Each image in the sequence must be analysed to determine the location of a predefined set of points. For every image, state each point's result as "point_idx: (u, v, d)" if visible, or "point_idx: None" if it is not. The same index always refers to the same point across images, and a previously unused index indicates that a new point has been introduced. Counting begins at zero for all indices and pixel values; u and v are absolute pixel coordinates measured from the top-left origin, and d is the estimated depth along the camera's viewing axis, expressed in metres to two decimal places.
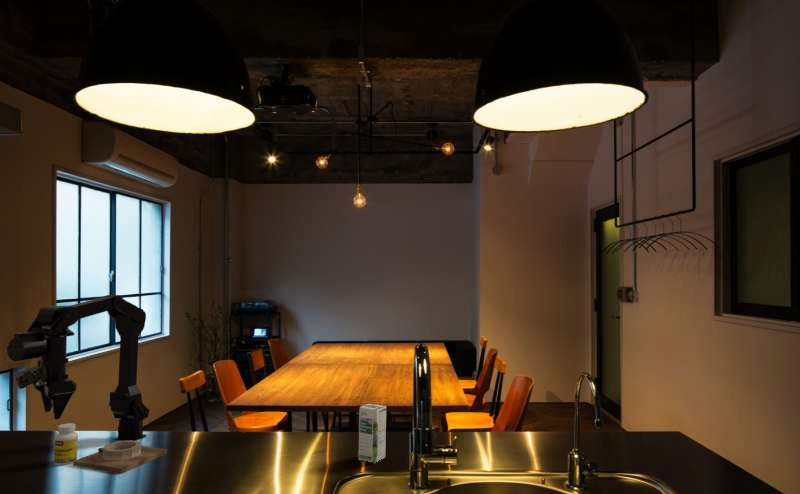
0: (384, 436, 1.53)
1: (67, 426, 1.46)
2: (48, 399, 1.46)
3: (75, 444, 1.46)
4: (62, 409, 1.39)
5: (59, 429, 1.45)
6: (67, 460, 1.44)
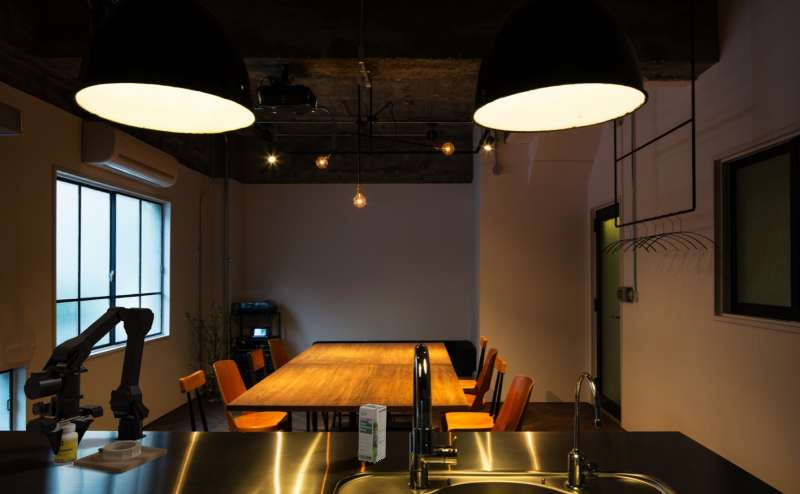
0: (384, 436, 1.53)
1: (67, 426, 1.46)
2: None
3: (75, 444, 1.46)
4: (55, 446, 1.42)
5: None
6: (67, 460, 1.44)
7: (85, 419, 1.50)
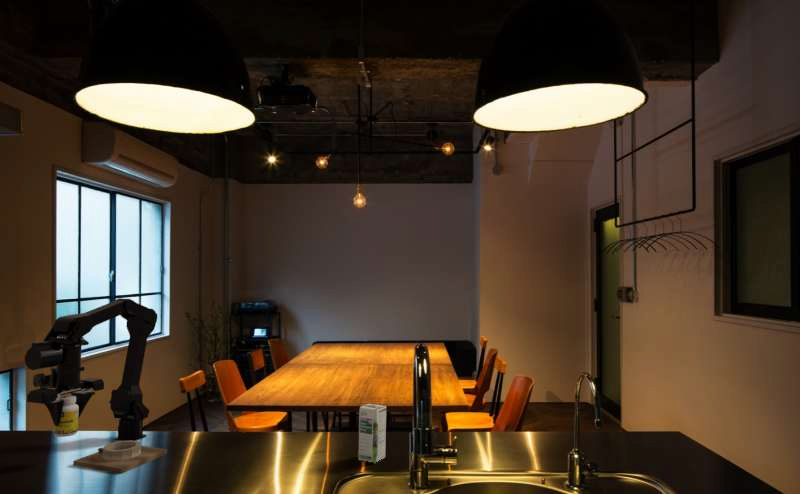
0: (384, 436, 1.53)
1: (68, 397, 1.46)
2: None
3: (76, 416, 1.46)
4: (56, 417, 1.43)
5: None
6: (68, 431, 1.44)
7: (86, 392, 1.50)
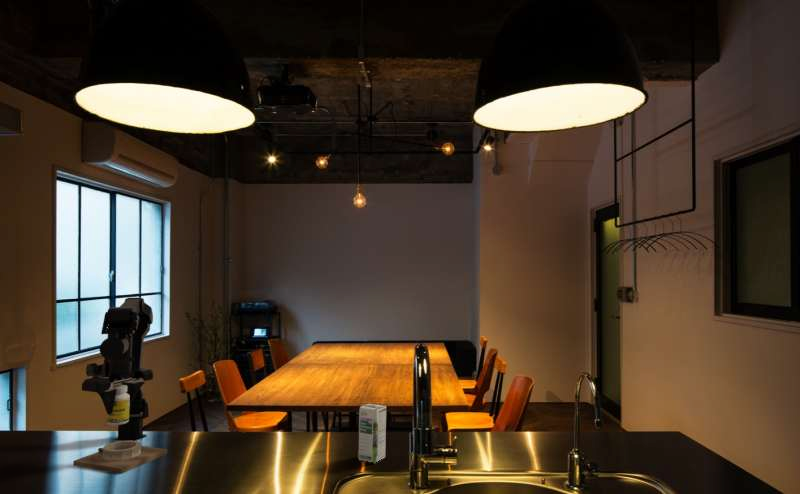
0: (384, 436, 1.53)
1: (120, 387, 1.49)
2: None
3: (128, 405, 1.49)
4: (109, 406, 1.45)
5: None
6: (120, 420, 1.47)
7: (136, 381, 1.53)
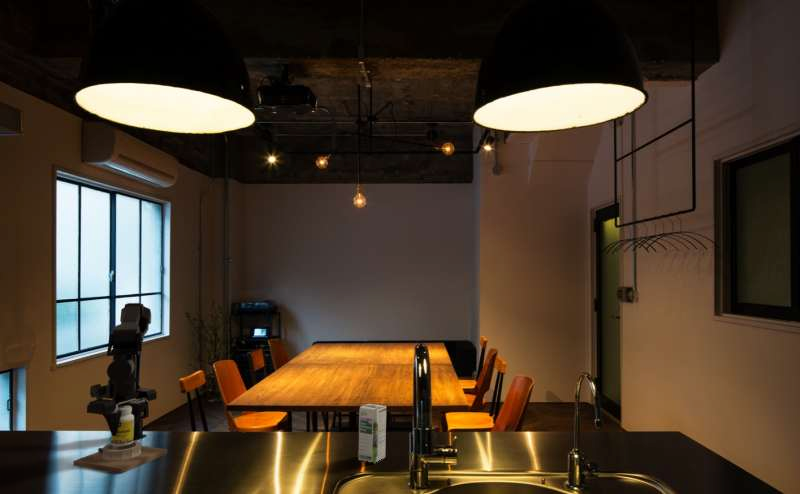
0: (384, 436, 1.53)
1: (124, 408, 1.49)
2: None
3: (132, 426, 1.49)
4: (114, 427, 1.45)
5: None
6: (125, 441, 1.47)
7: (140, 402, 1.53)
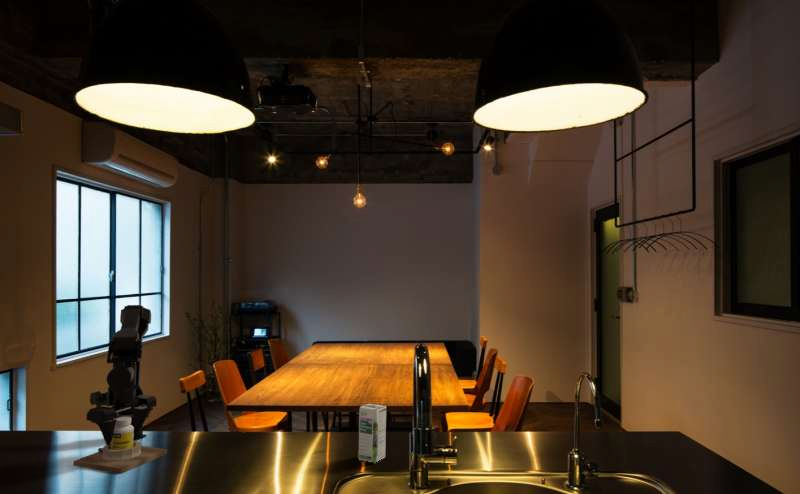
0: (384, 436, 1.53)
1: (124, 419, 1.49)
2: (136, 423, 1.53)
3: (132, 437, 1.49)
4: (108, 436, 1.44)
5: (116, 422, 1.47)
6: None
7: (145, 407, 1.55)
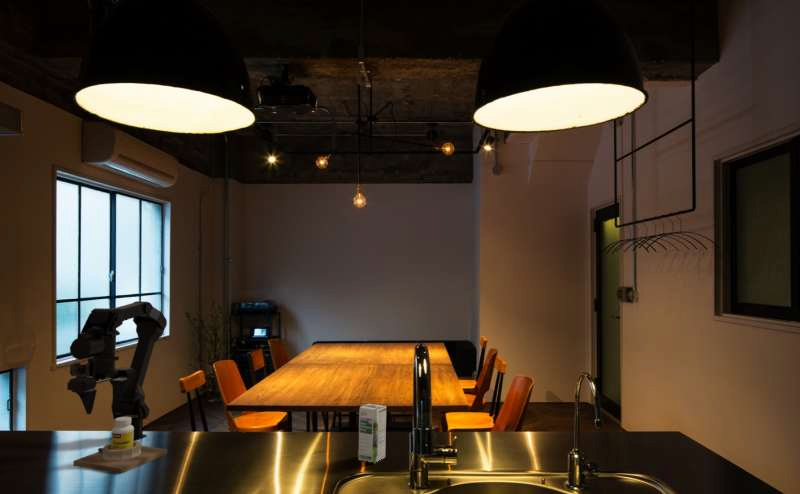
0: (384, 436, 1.53)
1: (124, 419, 1.49)
2: (116, 394, 1.57)
3: (132, 437, 1.49)
4: (89, 406, 1.47)
5: (116, 422, 1.47)
6: None
7: (124, 379, 1.59)
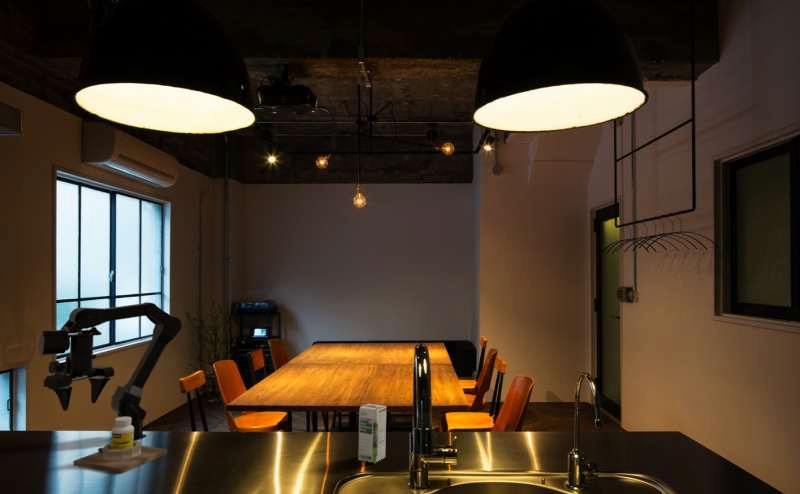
0: (384, 436, 1.53)
1: (124, 419, 1.49)
2: (94, 392, 1.61)
3: (132, 437, 1.49)
4: (65, 402, 1.52)
5: (116, 422, 1.47)
6: None
7: (102, 377, 1.63)
